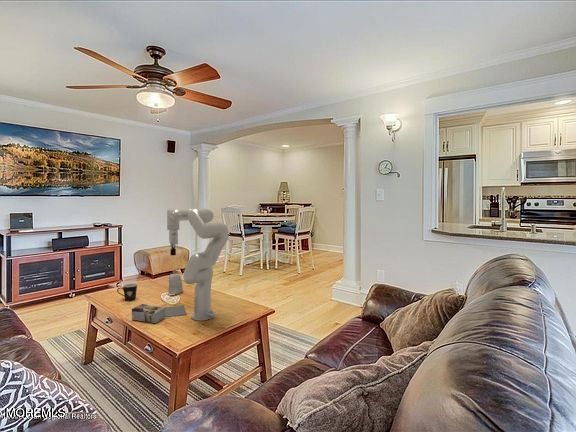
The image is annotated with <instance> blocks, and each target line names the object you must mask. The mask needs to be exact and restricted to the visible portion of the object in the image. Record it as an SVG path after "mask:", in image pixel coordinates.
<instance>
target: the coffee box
mask: <svg viewBox="0 0 576 432" xmlns="http://www.w3.org/2000/svg"><path fill="white" fill-rule="evenodd" d="M165 307H166V306H161V305H160V306H159V305H151V304H145V303H142V304H140V305H138V306H135V307H134V308H131V320H135V321H140V322H146V323H152V324H153V323H154V324H157V323H159V322H160V321H161V320H163V319H165V318H166V317H165Z"/></svg>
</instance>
